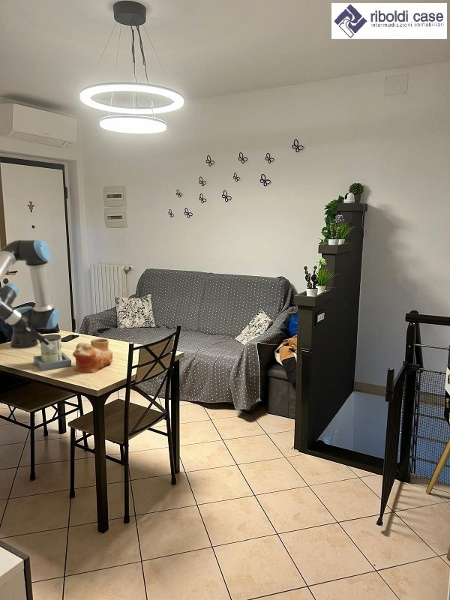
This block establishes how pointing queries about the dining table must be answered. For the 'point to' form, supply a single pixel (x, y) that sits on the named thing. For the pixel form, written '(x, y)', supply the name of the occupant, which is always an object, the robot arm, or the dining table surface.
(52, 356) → the coffee can
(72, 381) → the dining table surface
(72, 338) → the dining table surface
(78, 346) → the ceramic vessel
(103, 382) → the dining table surface
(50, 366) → the tray
